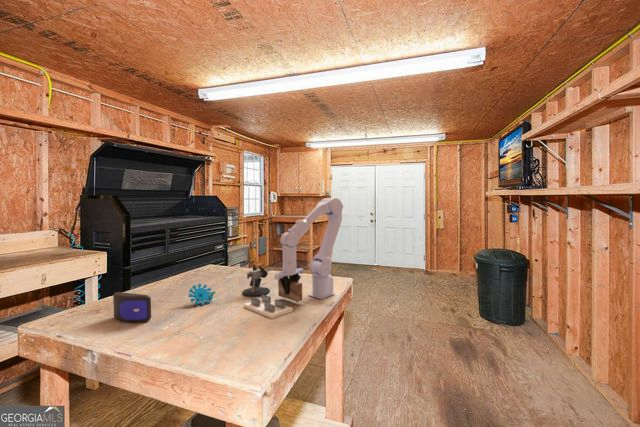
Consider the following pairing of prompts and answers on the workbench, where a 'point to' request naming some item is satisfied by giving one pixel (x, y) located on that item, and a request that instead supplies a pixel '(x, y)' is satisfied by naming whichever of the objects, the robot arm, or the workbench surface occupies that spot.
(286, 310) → the cabinet panel
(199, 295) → the gear
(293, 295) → the brown wooden block
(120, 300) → the purple-faced speaker box
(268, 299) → the hinge clips
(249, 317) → the workbench surface
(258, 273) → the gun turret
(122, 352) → the workbench surface
